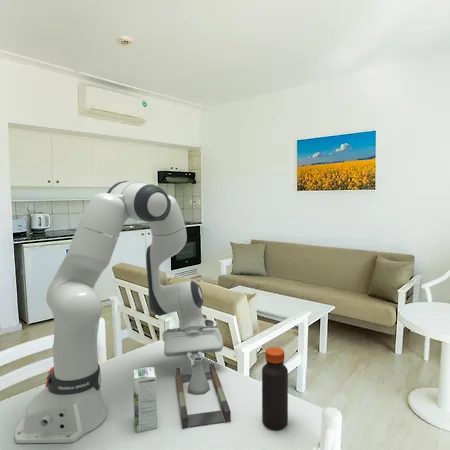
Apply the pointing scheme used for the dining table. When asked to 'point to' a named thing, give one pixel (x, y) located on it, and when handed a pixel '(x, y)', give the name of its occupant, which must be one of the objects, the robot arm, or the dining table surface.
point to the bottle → (274, 390)
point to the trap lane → (206, 417)
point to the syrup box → (145, 399)
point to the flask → (198, 378)
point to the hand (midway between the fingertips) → (195, 366)
